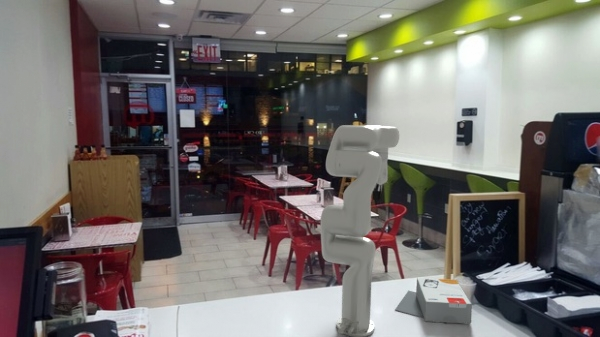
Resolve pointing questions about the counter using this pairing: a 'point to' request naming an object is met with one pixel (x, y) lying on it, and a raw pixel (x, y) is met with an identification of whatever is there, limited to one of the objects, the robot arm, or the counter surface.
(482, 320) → the counter surface
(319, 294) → the counter surface
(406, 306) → the mat
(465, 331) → the counter surface
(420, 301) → the hard drive box
